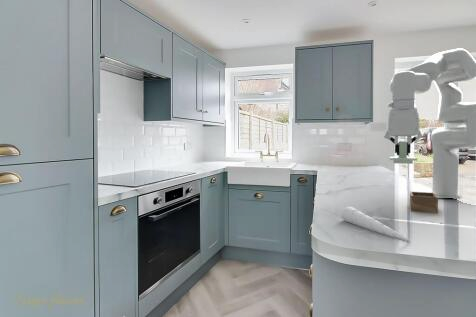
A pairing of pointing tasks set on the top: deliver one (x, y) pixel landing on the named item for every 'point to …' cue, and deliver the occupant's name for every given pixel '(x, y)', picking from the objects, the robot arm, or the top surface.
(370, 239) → the top surface
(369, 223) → the unicorn horn
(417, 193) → the box
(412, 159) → the mint green stepped block
